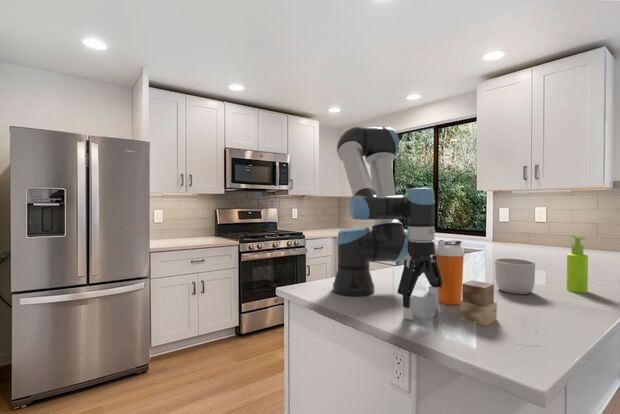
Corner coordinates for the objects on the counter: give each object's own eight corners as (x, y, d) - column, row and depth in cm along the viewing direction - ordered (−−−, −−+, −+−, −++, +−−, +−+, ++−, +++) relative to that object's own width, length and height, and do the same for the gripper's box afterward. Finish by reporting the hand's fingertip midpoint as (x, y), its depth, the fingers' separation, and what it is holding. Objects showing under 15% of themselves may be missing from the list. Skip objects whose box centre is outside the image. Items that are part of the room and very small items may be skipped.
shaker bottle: (467, 306, 104) (467, 242, 103) (437, 305, 105) (437, 242, 105) (460, 298, 112) (460, 239, 112) (432, 297, 114) (432, 238, 114)
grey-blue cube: (406, 313, 98) (406, 293, 98) (417, 309, 102) (417, 289, 102) (424, 319, 93) (424, 298, 93) (435, 314, 97) (435, 294, 97)
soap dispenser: (570, 292, 118) (571, 236, 118) (564, 287, 124) (564, 234, 124) (591, 294, 116) (592, 237, 115) (583, 289, 122) (584, 235, 122)
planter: (512, 285, 128) (512, 257, 128) (543, 294, 116) (543, 263, 116) (487, 288, 124) (487, 259, 124) (517, 297, 113) (517, 265, 112)
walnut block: (462, 301, 93) (462, 283, 93) (471, 297, 97) (471, 280, 97) (484, 306, 89) (484, 288, 88) (493, 301, 93) (493, 284, 92)
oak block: (460, 319, 93) (460, 301, 93) (470, 313, 98) (470, 296, 98) (486, 326, 88) (486, 307, 88) (496, 319, 93) (496, 302, 92)
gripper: (408, 245, 86) (408, 327, 86) (453, 238, 102) (454, 307, 103) (384, 243, 92) (384, 319, 92) (431, 236, 108) (431, 301, 108)
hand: (421, 313), depth 97 cm, fingers open, 13 cm apart
